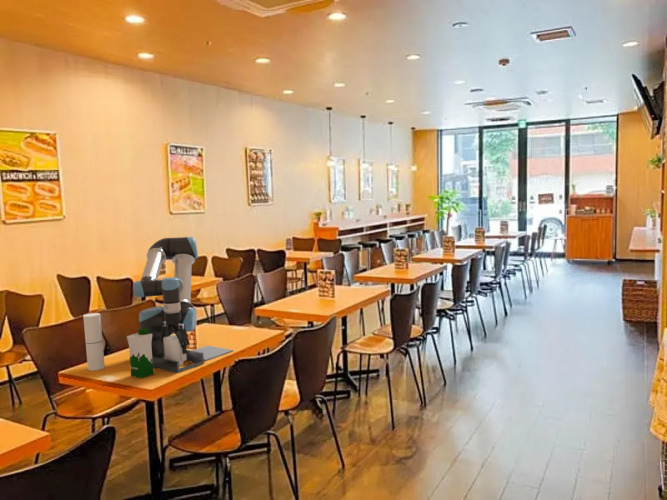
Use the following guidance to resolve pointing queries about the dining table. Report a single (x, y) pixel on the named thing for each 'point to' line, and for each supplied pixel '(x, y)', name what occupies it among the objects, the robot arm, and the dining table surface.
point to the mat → (212, 352)
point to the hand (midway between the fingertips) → (175, 358)
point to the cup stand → (174, 365)
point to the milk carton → (141, 353)
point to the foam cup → (173, 348)
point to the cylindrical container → (94, 341)
